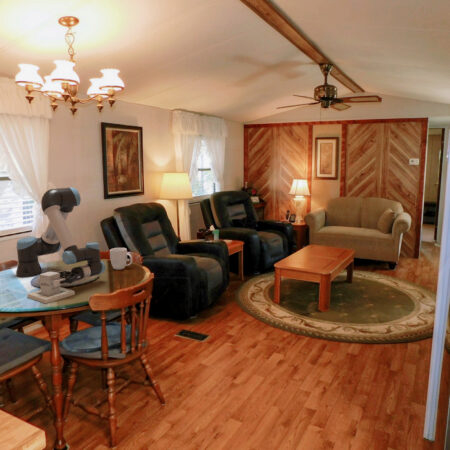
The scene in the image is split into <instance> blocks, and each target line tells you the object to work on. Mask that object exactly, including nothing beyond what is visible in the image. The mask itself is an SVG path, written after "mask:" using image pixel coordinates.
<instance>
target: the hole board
mask: <svg viewBox="0 0 450 450" xmlns="http://www.w3.org/2000/svg"><path fill="white" fill-rule="evenodd" d="M75 293H76V292H75V290H72V289H68V288H65V287H62V286H61V293H60V294H56V295H53V296H50V297H46V296H43V295H41V289H39V290H35V291H33V292H28V293H27V295H26V296H27V298H29V299H31V300H34V301H37V302H41V303H44V304H49V303H51V302H56V301H59V300H62V299H65V298H68V297H71V296H74V295H75Z"/></svg>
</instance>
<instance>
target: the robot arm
mask: <svg viewBox="0 0 450 450" xmlns="http://www.w3.org/2000/svg"><path fill="white" fill-rule="evenodd" d="M81 201H82V199H81V194H80V192H79V190H78V189H77V188H75V187H60V188H50V189H48V190H46V191H45V192H44V193H43V195H42V197H41V201H40V202H41V203H40V205H41V210H42V212H43V214H44V216H45V215H46V216H47V219H48V221H49V222H48V225H47V227H46V230H45V231H44V232H42V234H41V235H40V237H36V236H26V237H23V238H20V239H18V240H17V241H16V250H17V252H16V253H17V261H18V264H17V267H16V271H15V275H16V276H17V278H30V277H31V278H32V277H37V276H38V282H39V283H40V274H43V268H42V266H41V264H40V262H39V257H42V256H47V255H53V254H55V253H58V252H59V251H60V250H61V249H62V250H63V253H62V254H61V258H62V259H61V260H62V262H63V263H64V264H65V265H73V264H78V263H81V262H86V263H87V264H82V265H79V266H75V267H73V268H71V270H70V271H69V270H68V271H67V270H63V271H57V273H60V280H56V281H53V284H54V286H58V285H61V286H62V285H64V284H70V285H71V284H72V283H75V282H76V281H79V280H83V279H84V280H86V279H87V278H90V277H94V276H98V275H99V276H100V275H101V274H103V273H104V272H105V271H106V265H105V263H104V261H102V260H101V249H100V243H99V242H93V241H92V242H87V243H86V244H85V247H81V248H78V246H77V244H76V241H75V239H74V236H73V235H72V233H71V231H70V229H69V227H68V225H67V222H66V220H67V218H68V215H69V214H70V213H72V212H73V210H74V208H75V207H79V206H80V204H81Z"/></svg>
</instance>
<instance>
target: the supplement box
mask: <svg viewBox="0 0 450 450" xmlns="http://www.w3.org/2000/svg"><path fill="white" fill-rule="evenodd" d="M57 272H58V271H57ZM57 272H55V271H52V270H51V271H46V272H42V274H40V275H39V277H40V282H39V283H40V284H39V285H40V290H41V295H43V296H46V297H50V296H53V295H56V294H60V293H61V287H62V285H58V286H54V284H53V281H56V280H60V279H61V278H60V273H57Z"/></svg>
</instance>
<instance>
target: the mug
mask: <svg viewBox="0 0 450 450" xmlns="http://www.w3.org/2000/svg"><path fill="white" fill-rule="evenodd" d="M128 256H129V258H130V262H129V263H127V262H128ZM109 259H110V262H111V266H112V267H113V269H114V270H118V271H119V270H124V269H125V268H126V267H127V266H130V265H132V263H133V256H132V255H131V254H130V253H128V249H127V248H126V247H114V248H113V247H112V248H111V249H109Z"/></svg>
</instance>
